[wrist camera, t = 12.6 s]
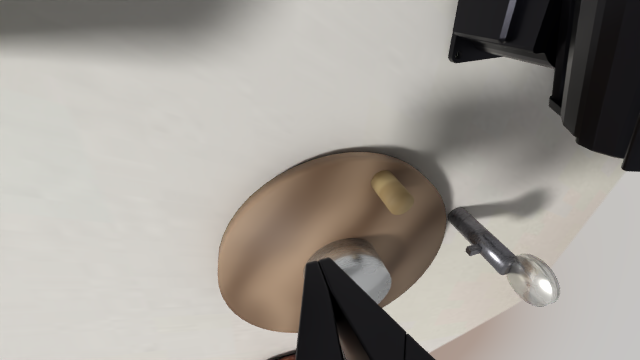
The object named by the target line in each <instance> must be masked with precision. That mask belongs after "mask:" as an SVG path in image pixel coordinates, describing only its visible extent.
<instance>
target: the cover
mask: <svg viewBox="0 0 640 360" xmlns="http://www.w3.org/2000/svg"><path fill="white" fill-rule="evenodd" d="M327 257H329V258H331V259H332V260H333V261H334V262H335V263H336V264H337V265H338V266H339V267H340V268H341V269H342V270H343V271H344V272H346V273H347V274H348V275H349V276H350V277H351V278H352V279H353V280H354V281H355V282H356V283H357V284H358V285H359V286H360V287H361V288H362V289H363V290H364V291H365V292H366V293H367V294H368V295H369V296H370V297H371V298H372V299H373V300H374V301H375V302H376V303H377V304H379V303H380V302H381V301H382V300H383V299H384V297H385V296H386V295H387V293H388V292H389V290H390V287H391V276H390V274H389V272H388V271H387V269H386V267H385V265H384V264H383V262H382V260H381V258H380V257H379V255H378V253H377V251H376V250H375V248H374V246H373V245H372V244H371V243H369V242H368V241H366V240H363V239H359V238H346V239H341V240H337V241H334V242H331V243H329V244H327V245H325V246H324V247H322V248H320V249H319V250H318V251H316V252H315V253H314V254H313V255H312V256H311V257H310V258H309V260H308V261H307V263H308V262H312V261H318V260H320V259H323V258H327ZM305 266H306V265H305ZM304 275H305V267H304V271H303V278H304Z"/></svg>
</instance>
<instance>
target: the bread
mask: <svg viewBox="0 0 640 360" xmlns="http://www.w3.org/2000/svg"><path fill="white" fill-rule="evenodd" d="M295 358H296V354H292V355H289V356H284V357H282V358H279V359H276V360H295Z"/></svg>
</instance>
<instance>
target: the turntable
mask: <svg viewBox="0 0 640 360" xmlns="http://www.w3.org/2000/svg"><path fill="white" fill-rule="evenodd" d="M445 229H446V211H445V205H444V203H443V200H442V197H441V195H440V194H439V192H438V191H437V189H436V188H435V187H434V185H433V184H432V183H431V182H430V181H429V180H428V179H426V178H425V177H424V176H423V175H422V174H421V173H420V172H419V171H418V170H417V169H415V168H414V167H412V166H411V165H409V164H408V163H406V162H404V161H402V160H399V159H397V158H395V157H391V156H387V155H384V154H378V153H370V152H348V153H340V154H333V155H329V156H325V157H321V158H317V159H313V160H311V161H308V162H305V163H303V164H300V165H298V166H295V167H293V168H291V169H289V170H287V171H285V172H284V173H282V174H280V175H278V176H276V177H275V178H273V179H272V180H270V181H269V182H267V183H266V184H265V185H263V186H262V187H261V188H260V189H258V190H257V191H256V192H255V193H254V194H253V195H251V196H250V197H249V198H248V199H247V200H246V202H245V203H244V204H243V205H242V206H241V207H240V208H239V209H238V211H237V212H236V214H235V215H234V216H233V218H232V219H231V221H230V222H229V224H228V226H227V228H226V230H225V232H224V235H223V237H222V241H221V244H220V248H219V257H218V283H219V288H220V291H221V294H222V297H223V299H224V300H225V302H226V304H227V305H228V306H229V308H230V309H231V310H232V311H233V312H234V313H235V314H236V315H238V316H239V317H240V318H241V319H243V320H245V321H247V322H248V323H250V324H252V325H255V326H257V327H260V328H263V329H267V330H271V331H277V332H287V333H298V330H299V321H300V312H301V303H302V293H303V284H304V278H303V271H304V267H305V265H306V263H307V261H308V260H309V258H310V257H311V256H312V255H313V254H314V253H315V252H316V251H318V250H319V249H320V248H322V247H324V246H325V245H327V244H329V243H331V242H334V241H337V240H341V239H346V238H359V239H363V240H366V241H368V242H369V243H371V244H372V245H373V246H374V248H375V250H376V251H377V253H378V255H379V257H380V258H381V260H382V262H383V264H384V265H385V267H386V269H387V271H388V272H389V274H390V276H391V287H390V290H389V292H388V293H387V295H386V296H385V297H384V299H383V300H382V301H381V302H380V303H379V304H378V305H379V306H380V307H381V308H383V307H384V306H386V305H388V304H389V303H391V302H392V301H393V300H395V299H396V298H398V297H399V296H400V295H402V294H403V293H404V292H405V291H407V290H408V289H409V288H410V287H411V286H412V285H413V284H414V283H415V282H416V281H417V280H418V279H419V278H420V277H421V276H422V275H423V274H424V272H425V271H426V270H427V268H428V267H429V266H430V265H431V263H432V261H433V260H434V258H435V256H436V255H437V253H438V251H439V249H440V246H441V244H442V241H443V238H444V234H445Z"/></svg>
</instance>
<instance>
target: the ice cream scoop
mask: <svg viewBox="0 0 640 360" xmlns="http://www.w3.org/2000/svg"><path fill="white" fill-rule="evenodd" d="M448 221H449V222H450V223H451V224H452V225H453V226H454V227H455V228H456V229H457V230H458V231H459V232H460V233H461V234H462V235H463V236H464V237H465V238H466V239H467V240H468V241H469V242H470V244H471V246H468V247H467V248H466V252H467V253H468V255H469V256H472V255H475V254H479V253H480V254H481V255H482V256H483V257H484V258H485V259H486V260H487V261H488V262H489V263H490V264H491V265H492V266H493V267H494V268H495V269H496V270H497V272H498V273H499V274H501V275H505V274H506V275H507V278H508V281H509V283H510V285H511V286H512V288H513V289H514V291H515V292H516V293H517V294H518V295H519V296H520V297H521V298H522V299H523V300H524V301H526V302H527V303H529V304H531V305H534V306H537V307H542V306H546V305H548V304H552V303H554V302H556V301H557V300H558V298H559V295H560V288H559V283H558V280H557V278H556V276H555V274H554V273H553V271H552V270H551V269H550V267H549V266H548V265H547V264H546V263H545V262H543V261H542V260H541V259H539V258H538V257H536V256H534V255H531V254H520V255H517V256H515V255H514V254H513V253H512V252H511V251H510V250H509V249H508V248H506V247H505V246H504V245H503V244H502V243H501V242H500V241H499V240H498V239H497V238H496V237H495V236H493V235H492V234H491V233H490V232H489V231H488V230H487V229H486V228H485V227H484V226H483V225H481V224H480V223H479V222H478V221H477V220H476V219H475V218H474V217H473V216H472V215H471V214H469V213H468V212H467V211H466V210H465V209H464V208H462V207H459V208H456V209H454V210H453V211H452V212H451V213H450V214H449V216H448Z"/></svg>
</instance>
